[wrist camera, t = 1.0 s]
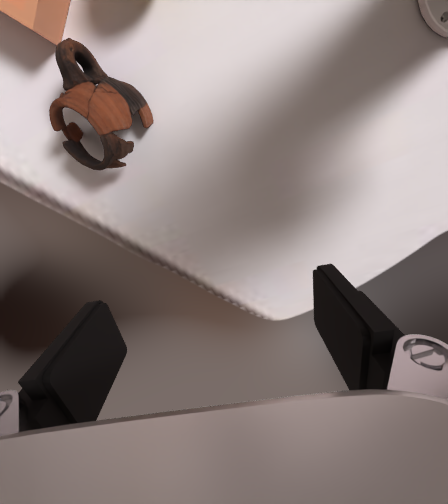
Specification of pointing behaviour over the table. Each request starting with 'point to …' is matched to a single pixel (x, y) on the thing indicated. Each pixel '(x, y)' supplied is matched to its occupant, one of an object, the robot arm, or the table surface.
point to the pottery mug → (95, 106)
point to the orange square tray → (39, 16)
